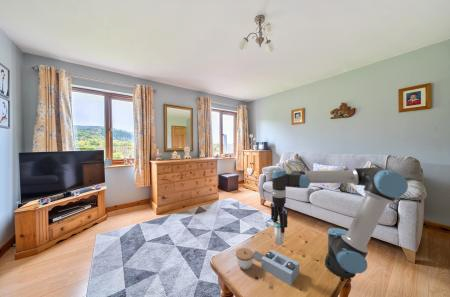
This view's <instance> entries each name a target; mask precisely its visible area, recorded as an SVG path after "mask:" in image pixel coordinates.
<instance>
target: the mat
mask: <svg viewBox="0 0 450 297" xmlns="http://www.w3.org/2000/svg"><path fill="white" fill-rule="evenodd" d="M264 255H265V254H263V253H260V252H259V251H257V250H255V251H254V252H253V260H256V261H257V262H261V258H262V257H263V256H264Z"/></svg>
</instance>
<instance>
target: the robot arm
mask: <svg viewBox="0 0 450 297" xmlns="http://www.w3.org/2000/svg"><path fill="white" fill-rule="evenodd" d="M271 176H272V179H271V180H272V183H271V184H272V190H271V191H272V200H271V203H270V219H271V220H272V222H273V234H274V235H275V223H280V226H279V238H284V239H285V229H286V228H288V213H289V210H288V209H285V204H286V203H287V198H286V196H287V195H286V194H287V188H295V189H296V188H297V189H309V187H310V186H309V185H310V184H352V185H354V186H363V193H365V194H364V197H363V199H362V201H361V203H360V205H359V207H358V209H357V211H356V213H355V216H354V218H353V219H352V222H351V224H350V226H349V228H348V230H346V229H344V228H338V227H330V228H328V230H327V231H328V232H327V242H328V243H327V251H328V252H327V254H326V255H325V259H324V265H325V268H326V270H328V271H329V272H331V273H332V274H333V275H336V276H338V277H341V278H345V279H351V278H352V279H353V278H355V277H356V274H362V273H364V272H365V271H366V270H367V269H368V261H367V259H366V257H367V256H368V254H369V249H368V247H367V245H368V243H369V241H370V240H371V238H372V237H373V233H374V231H375V229H376V228H377V225H378V224H379V222H380V219H381V217H382V216H383V215H384V211H385V210H386V208H387V206H388V204H391V203H395V200H396V199H397V198H399V197H401V196H404V195H405V194H406V193H407V191H408V188H409V183H408V181H407V179H406V178H405V176H403V174H401V173H399V172H396V171H395V170H393V169H392V170H391V169H386V168H381V167H376V166H375V167H374V166H372V167H371V166H370V167H359V168H353V167H352V169H347V170H345V169H341V170H292V171H290V172H289V173H287V171H286V170H284V169H274V170H273V171H272V175H271ZM278 218H279V219H278Z"/></svg>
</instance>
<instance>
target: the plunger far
mask: <svg viewBox="0 0 450 297" xmlns="http://www.w3.org/2000/svg"><path fill="white" fill-rule="evenodd" d="M266 253H267V258H269V259H272V252H269V251H267V252H266Z"/></svg>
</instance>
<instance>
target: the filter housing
mask: <svg viewBox="0 0 450 297" xmlns="http://www.w3.org/2000/svg"><path fill="white" fill-rule="evenodd" d="M268 252H272V259H269V258H267V252H266V254H263V255H264V256H263V257H262V258H261V260H260V262H261V263H260V264H261V265H260V269H262V270H264V271H265V272H267V273H269V274H271V275H272V276H274V277H275V278H277V279H279V280H281V281H283V282H284V283H286V284H287V285H289V286H292V285H293V283H294V282H295V281H296V279H297V277H298V276H299V275H300V262H298V261H297V260H295V259H293V258H290V257H288V256H286V255H284V254H282V253H279V252H278V251H276V250H273V249H270V250H268ZM288 262H293V263H294V271H292V270H290V269H288Z"/></svg>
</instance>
